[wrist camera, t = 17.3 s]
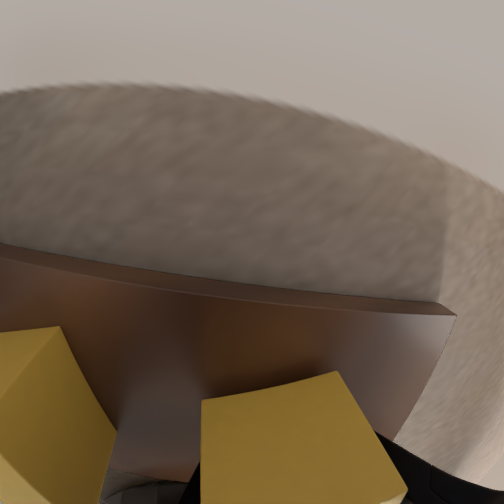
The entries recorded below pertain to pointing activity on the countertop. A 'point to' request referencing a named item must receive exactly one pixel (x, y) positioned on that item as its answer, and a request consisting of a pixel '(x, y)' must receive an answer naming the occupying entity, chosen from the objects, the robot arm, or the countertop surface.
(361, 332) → the board
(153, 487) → the pan
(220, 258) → the countertop surface
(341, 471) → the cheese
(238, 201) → the countertop surface
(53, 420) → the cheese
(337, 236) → the countertop surface
